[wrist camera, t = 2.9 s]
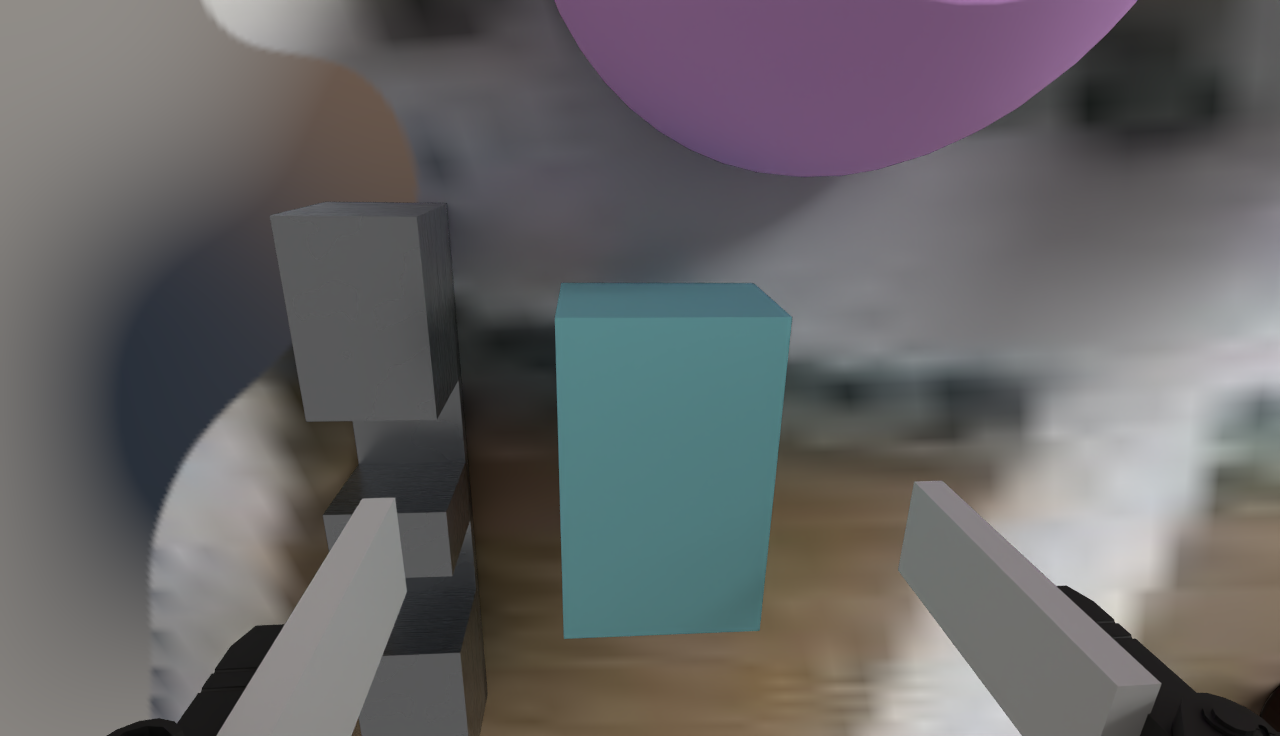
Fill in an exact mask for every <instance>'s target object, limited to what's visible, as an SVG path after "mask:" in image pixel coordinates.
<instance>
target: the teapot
mask: <svg viewBox="0 0 1280 736" xmlns="http://www.w3.org/2000/svg"><path fill="white" fill-rule="evenodd" d="M554 1H555V3H556V6H557V8H558V10H559V13H560V15H561V17H562V18H563V20H564V22H565V24H566V25H567V27H568V29H569V31H570V32H571V34H572V36H573V38H574V39H575V41H576V43H577V45H578V46H579V48H580V50H581V51H582V53H583V54H584V55H585V57H586V58H587V59H588V61H589V62H590V63H591V65H592V66H593V67H594V69H595V70H596V71H597V73H598V74H599V75H600V77H601V78H602V79H603V81H604V82H605V83H606V84H607V85H608V86H609V87H610V88H611V89H612V90H613V91H614V92H615V93H616V94H617V95H618V96H619V97H620V98H621V99H622V100H623V101H624V102H625V104H626V105H627V106H628V107H629V108H630V109H631V110H633V111H634V112H635V113H637V114H638V115H639V116H640V117H642V118H643V119H644V120H645V121H647V122H648V123H649V124H651V125H652V126H653V127H654V128H656V129H657V130H658V131H659V132H661V133H663V134H664V135H666V136H668V137H670V138H671V139H673V140H675V141H676V142H678V143H680V144H681V145H683V146H685V147H686V148H688V149H690V150H692V151H695V152H697V153H699V154H702V155H704V156H706V157H709V158H711V159H714V160H716V161H718V162H721V163H724V164H727V165H731V166H735V167H739V168H743V169H747V170H750V171H754V172H760V173H769V174H778V175H786V176H798V177H811V176H842V175H848V174H854V173H860V172H866V171H872V170H878V169H881V168H884V167H887V166H891V165H894V164H897V163H901V162H904V161H907V160H911V159H914V158H917V157H920V156H923V155H926V154H929V153H931V152H934V151H936V150H938V149H940V148H943V147H945V146H947V145H949V144H952V143H954V142H956V141H958V140H961V139H963V138H965V137H967V136H969V135H971V134H973V133H975V132H977V131H979V130H981V129H983V128H985V127H987V126H988V125H990V124H992V123H993V122H995V121H997V120H998V119H1000V118H1002V117H1003V116H1005V115H1007V114H1008V113H1010V112H1012V111H1013V110H1015V109H1017V108H1018V107H1020V106H1021V105H1022V104H1024V103H1025V102H1026V101H1028V100H1029V99H1030V98H1032V97H1033V96H1034V95H1035V94H1037V93H1038V92H1039V91H1041V90H1042V89H1043V88H1045V87H1046V86H1047V85H1049V84H1050V83H1051V82H1052V81H1054V80H1055V79H1056V78H1058V77H1059V76H1060V75H1062V74H1063V73H1064V72H1066V71H1067V70H1068V69H1069V68H1071V67H1072V66H1073V65H1075V64H1076V63H1077V62H1078V61H1079V60H1080V59H1081V58H1082V57H1083V56H1084V55H1085V54H1086V53H1087V52H1088V51H1089V50H1090V49H1092V48H1093V47H1094V46H1095V45H1096V44H1097V43H1098V42H1099V41H1100V40H1101V39H1102V38H1103V37H1104V36H1105V35H1106V34H1107V33H1108V32H1109V31H1110V30H1111V29H1112V28H1113V27H1114V26H1115V25H1116V24H1117V23H1118V21H1119V20H1120V19H1121V18H1122V17H1123V16H1124V15H1125V14H1126V13H1127V12H1128V11H1129V10H1130V9H1131V7H1132V6H1133V5H1134V4H1135V3H1136V2H1137V0H554Z"/></svg>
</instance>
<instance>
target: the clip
mask: <svg viewBox="0 0 1280 736" xmlns="http://www.w3.org/2000/svg"><path fill="white" fill-rule="evenodd" d="M791 324H792V317H791V316H790V315H789V314H788V313H787V312H786V311H785V310H783V309H782V308H781V307H780V306H779V305H778V304H777V303H776V302H774V301H773V300H772V299H771V298H770V297H769V296H768V295H766V294H765V293H764V292H763V291H762V290H761V289H760V288H759V287H757V286H756V285H755V284H754V283H561V288H560V293H559V298H558V304H557V309H556V314H555V343H556V378H557V414H558V449H559V485H560V520H561V556H562V591H563V626H564V639H570V638H595V637H619V636H643V635H668V634H692V633H717V632H741V631H760V621H761V612H762V602H763V593H764V583H765V573H766V564H767V554H768V545H769V535H770V525H771V516H772V506H773V497H774V487H775V477H776V468H777V458H778V449H779V439H780V429H781V420H782V410H783V401H784V391H785V381H786V372H787V362H788V353H789V343H790V333H791Z"/></svg>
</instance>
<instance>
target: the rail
mask: <svg viewBox="0 0 1280 736" xmlns="http://www.w3.org/2000/svg"><path fill="white" fill-rule="evenodd" d="M270 220H271V226H272V232H273V237H274V243H275V249H276V254H277V260H278V266H279V271H280V277H281V283H282V288H283V294H284V299H285V305H286V311H287V316H288V322H289V328H290V333H291V339H292V345H293V350H294V356H295V362H296V367H297V373H298V379H299V384H300V390H301V395H302V401H303V407H304V412H305V418H306V422H313V421H353V428H354V435H355V441H356V448H357V455H358V461H359V465H358V466H357V467H356V469H355V470H354V472H353V473H352V475H351V476H350V477H349V479H348V480H347V482H346V483H345V484H344V486H343V487H342V489H341V490H340V492H339V493H338V494H337V496H336V497H335V499H334V500H333V501H332V503H331V504H330V506H329V507H328V508H327V510H326V511H325V513H324V514H323V520H324V525H325V531H326V537H327V542H328V548H329V552H330V550H331V549H332V547H333V545H334V544H335V542H336V540H337V539H338V537H339V536H340V534H341V532H342V531H343V529H344V527H345V526H346V524H347V523H348V521H349V519H350V518H351V516H352V514H353V513H354V511H355V510H356V508H357V506H358V505H359V503H360V501H361V500H362V499H364V498H395V501H396V509H397V517H398V525H399V533H400V541H401V549H402V557H403V564H404V572H405V580H406V588H407V593H406V596H405V598H404V601H403V603H402V606H401V608H400V611H399V614H398V616H397V619H396V621H395V624H394V627H393V629H392V632H391V634H390V637H389V640H388V642H387V645H386V647H385V650H384V652H383V655H382V658H381V660H380V663H379V665H378V668H377V671H376V673H375V676H374V678H373V681H372V684H371V686H370V689H369V691H368V694H367V696H366V699H365V702H364V704H363V707H362V709H361V712H360V715H359V723H360V729H361V734H362V736H480V732H481V727H482V721H483V716H484V710H485V705H486V699H487V682H486V670H485V658H484V646H483V634H482V622H481V610H480V598H479V586H478V574H477V562H476V550H475V538H474V526H473V514H472V502H471V490H470V478H469V466H468V454H467V442H466V430H465V418H464V406H463V394H462V382H461V370H460V358H459V345H458V333H457V321H456V309H455V297H454V285H453V273H452V261H451V249H450V237H449V225H448V213H447V203H387V202H386V203H385V202H323V203H319V204H315V205H310V206H306V207H302V208H298V209H294V210H290V211H286V212H282V213H278V214H273V215H270Z"/></svg>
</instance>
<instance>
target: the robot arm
mask: <svg viewBox="0 0 1280 736" xmlns="http://www.w3.org/2000/svg"><path fill="white" fill-rule="evenodd" d="M898 571H899V572H900V573H901V575H902V576H903V577H904V579H905V580H906V581H907V583H908V584H909V585H910V587H911V588H912V589H913V591H914V592H915V593H916V595H917V596H918V597H919V599H920V600H921V601H922V603H923V604H924V605H925V607H926V608H927V609H928V611H929V612H930V613H931V615H932V616H933V617H934V619H935V620H936V621H937V623H938V624H939V625H940V627H941V628H942V629H943V631H944V632H945V633H946V635H947V636H948V637H949V639H950V640H951V641H952V643H953V644H954V645H955V647H956V648H957V649H958V651H959V652H960V653H961V655H962V656H963V657H964V659H965V660H966V661H967V663H968V664H969V665H970V667H971V668H972V669H973V671H974V672H975V673H976V675H977V676H978V677H979V679H980V680H981V681H982V683H983V684H984V685H985V687H986V688H987V689H988V691H989V692H990V693H991V695H992V696H993V697H994V699H995V700H996V701H997V703H998V704H999V705H1000V707H1001V708H1002V709H1003V711H1004V712H1005V713H1006V715H1007V716H1008V717H1009V719H1010V720H1011V721H1012V723H1013V724H1014V725H1015V727H1016V728H1017V730H1018V731H1019V732H1020V734H1021V735H1022V736H1280V732H1277V731H1276V730H1275V729H1274V728H1272V727H1271V726H1270V725H1269V724H1268V723H1267V722H1266V721H1265V720H1264V719H1263V718H1261V717H1259V716H1258V715H1256V714H1255V713H1253V712H1252V711H1250V710H1249V709H1247V708H1246V707H1244V706H1241V705H1239V704H1237V703H1235V702H1233V701H1231V700H1228V699H1226V698H1223V697H1219V696H1216V695H1212V694H1208V693H1196V692H1195V691H1194V690H1193V689H1192V688H1191V687H1189V686H1188V685H1187V684H1186V683H1185V682H1184V681H1183V680H1182V679H1180V678H1179V677H1178V676H1177V675H1176V674H1175V673H1174V672H1173V671H1171V670H1170V669H1169V668H1168V667H1167V666H1166V665H1165V664H1164V663H1162V662H1161V661H1160V660H1159V659H1158V658H1157V657H1156V656H1155V655H1153V654H1152V653H1151V652H1150V651H1149V650H1148V649H1147V648H1146V647H1144V646H1143V645H1142V644H1141V643H1140V642H1139V641H1138V640H1137V639H1132V637H1131V634H1130V633H1129V632H1127V631H1126V630H1125V629H1124V628H1123V627H1122V626H1121V625H1120V624H1118V623H1115V622H1114V619H1113V618H1112V617H1111V616H1109V615H1108V614H1107V613H1106V612H1105V611H1104V610H1103V609H1102V608H1100V607H1099V606H1098V605H1097V604H1096V603H1095V602H1094V601H1092V600H1090V599H1089V598H1087V597H1085V596H1083V595H1082V594H1080V593H1078V592H1077V591H1075V590H1073V589H1071V588H1070V587H1068V586H1056V585H1054V584H1053V583H1052V582H1051V581H1050V580H1049V579H1048V578H1047V577H1046V576H1045V575H1044V574H1043V573H1041V572H1040V571H1039V570H1038V569H1037V568H1036V567H1035V566H1034V565H1033V564H1032V563H1031V562H1030V561H1028V560H1027V559H1026V558H1025V557H1024V556H1023V555H1022V554H1021V553H1020V552H1019V551H1018V550H1017V549H1016V548H1014V547H1013V546H1012V545H1011V544H1010V543H1009V542H1008V541H1007V540H1006V539H1005V538H1004V537H1003V536H1001V535H1000V534H999V533H998V532H997V531H996V530H995V529H994V528H993V527H992V526H991V525H990V524H988V523H987V522H986V521H985V520H984V519H983V518H982V517H981V516H980V515H979V514H978V513H977V512H976V511H974V510H973V509H972V508H971V507H970V506H969V505H968V504H967V503H966V502H965V501H964V500H963V499H961V498H960V497H959V496H958V495H957V494H956V493H955V492H954V491H953V490H952V489H951V488H950V487H948V486H947V485H946V484H945V483H944V482H943V481H918V482H914V486H913V491H912V497H911V502H910V508H909V513H908V519H907V524H906V530H905V535H904V541H903V546H902V552H901V557H900V563H899V568H898ZM406 593H407V588H406V580H405V572H404V564H403V557H402V549H401V541H400V533H399V525H398V517H397V509H396V501H395V498H364V499H362V500H361V501H360V503H359V505H358V506H357V508H356V510H355V511H354V513H353V514H352V516H351V518H350V519H349V521H348V523H347V524H346V526H345V527H344V529H343V531H342V532H341V534H340V536H339V537H338V539H337V540H336V542H335V544H334V545H333V547H332V549H331V550H330V552H329V553H328V555H327V557H326V558H325V560H324V562H323V563H322V565H321V566H320V568H319V570H318V571H317V573H316V575H315V576H314V578H313V580H312V581H311V583H310V584H309V586H308V588H307V589H306V591H305V593H304V594H303V596H302V597H301V599H300V601H299V602H298V604H297V606H296V607H295V609H294V610H293V612H292V614H291V615H290V617H289V619H288V620H287V622H286V623H285V624H283V625H262V626H255V627H254V628H253V629H251V630H250V631H249V632H248V633H247V634H245V635H244V636H243V637H242V638H240V639H239V640H238V641H237V642H235V643H234V644H233V645H232V646H231V647H230V648H229V650H228V651H227V653H226V654H225V655H224V657H223V658H222V660H221V661H220V663H219V664H218V666H217V667H216V668H215V673H214V674H211V676H210V677H209V678H208V680H207V681H206V683H205V684H204V686H203V687H202V691H201V693H198V694H197V696H196V697H195V699H194V700H193V701H192V703H191V704H190V706H189V707H188V709H187V710H186V712H185V713H184V714H183V716H182V717H181V719H180V720H179V722H178V723H177V724H176V723H175V722H174V721H170V720H165V719H160V718H158V719H151V720H144V721H139V722H136V723H133V724H130V725H128V726H125V727H123V728H120V729H117V730H115V731H114V732H112V733H111V734H109V735H107V736H351V735H352V733H353V730H354V728H355V725H356V722H357V720H358V717H359V715H360V712H361V709H362V707H363V704H364V702H365V699H366V696H367V694H368V691H369V689H370V686H371V684H372V681H373V678H374V676H375V673H376V671H377V668H378V665H379V663H380V660H381V658H382V655H383V652H384V650H385V647H386V645H387V642H388V640H389V637H390V634H391V632H392V629H393V627H394V624H395V621H396V619H397V616H398V614H399V611H400V608H401V606H402V603H403V601H404V598H405V596H406Z"/></svg>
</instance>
